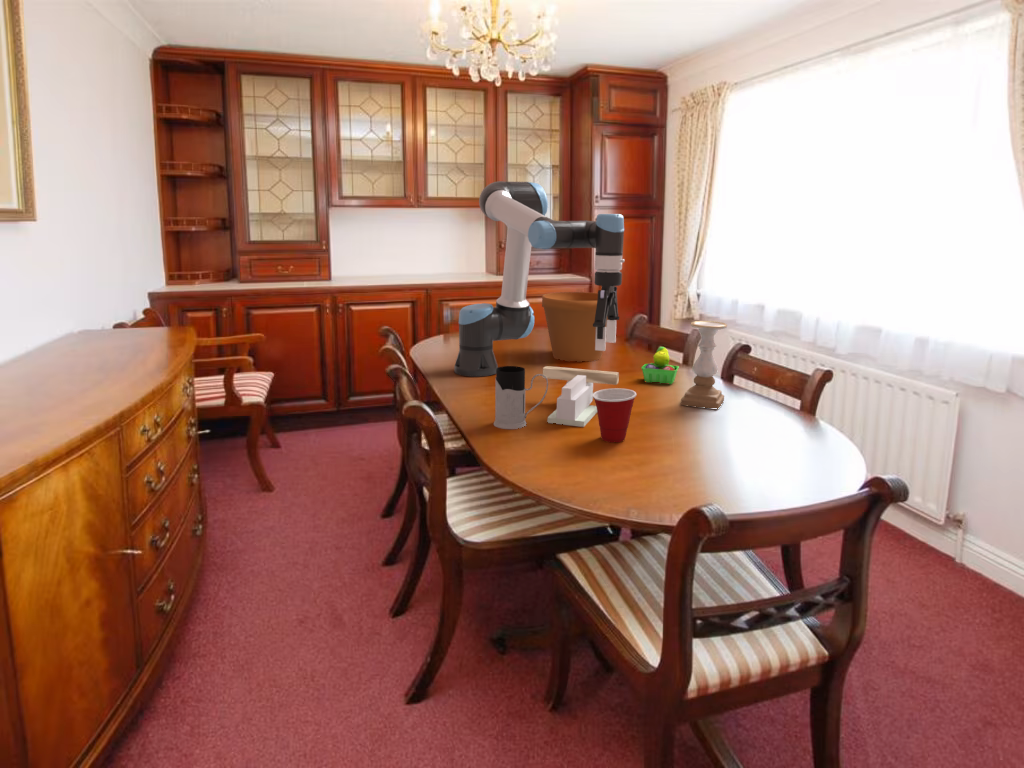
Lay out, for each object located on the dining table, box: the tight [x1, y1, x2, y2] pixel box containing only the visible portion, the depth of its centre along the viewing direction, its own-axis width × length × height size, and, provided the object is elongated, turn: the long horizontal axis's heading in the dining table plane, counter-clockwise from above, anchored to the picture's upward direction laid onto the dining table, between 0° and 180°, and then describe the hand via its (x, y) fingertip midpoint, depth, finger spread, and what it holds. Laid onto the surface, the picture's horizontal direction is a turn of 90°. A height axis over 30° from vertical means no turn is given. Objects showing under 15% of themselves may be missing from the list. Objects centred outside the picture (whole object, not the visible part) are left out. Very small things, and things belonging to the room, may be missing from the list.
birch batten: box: [542, 365, 620, 386], centre depth 202 cm, size 3×22×3 cm, turn 70°
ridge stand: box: [546, 375, 598, 428], centre depth 189 cm, size 16×10×10 cm, turn 160°
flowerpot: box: [541, 291, 609, 363], centre depth 267 cm, size 28×28×24 cm
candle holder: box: [680, 320, 728, 409], centre depth 203 cm, size 11×11×24 cm
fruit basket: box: [641, 346, 680, 385], centre depth 231 cm, size 11×9×11 cm
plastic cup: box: [592, 387, 637, 443], centre depth 171 cm, size 11×11×12 cm
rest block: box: [565, 380, 594, 404], centre depth 203 cm, size 8×6×7 cm
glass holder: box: [493, 365, 549, 430], centre depth 182 cm, size 9×14×15 cm, turn 88°
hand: (605, 346), depth 197 cm, fingers open, 13 cm apart
